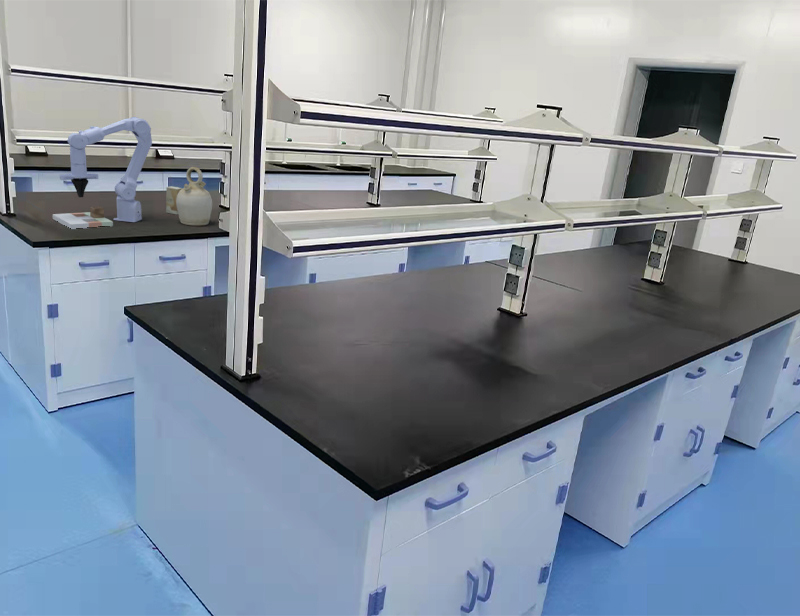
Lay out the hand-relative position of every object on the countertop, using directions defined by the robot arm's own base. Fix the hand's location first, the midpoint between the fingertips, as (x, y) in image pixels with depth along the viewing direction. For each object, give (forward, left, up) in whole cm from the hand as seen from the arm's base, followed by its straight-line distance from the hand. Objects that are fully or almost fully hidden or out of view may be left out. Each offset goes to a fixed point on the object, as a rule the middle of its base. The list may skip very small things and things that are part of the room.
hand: (80, 196), depth 262 cm
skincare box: (-25, -36, -11) cm, 45 cm away
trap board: (-2, +2, -10) cm, 11 cm away
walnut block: (-5, -2, -8) cm, 10 cm away
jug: (-40, -21, -11) cm, 47 cm away
